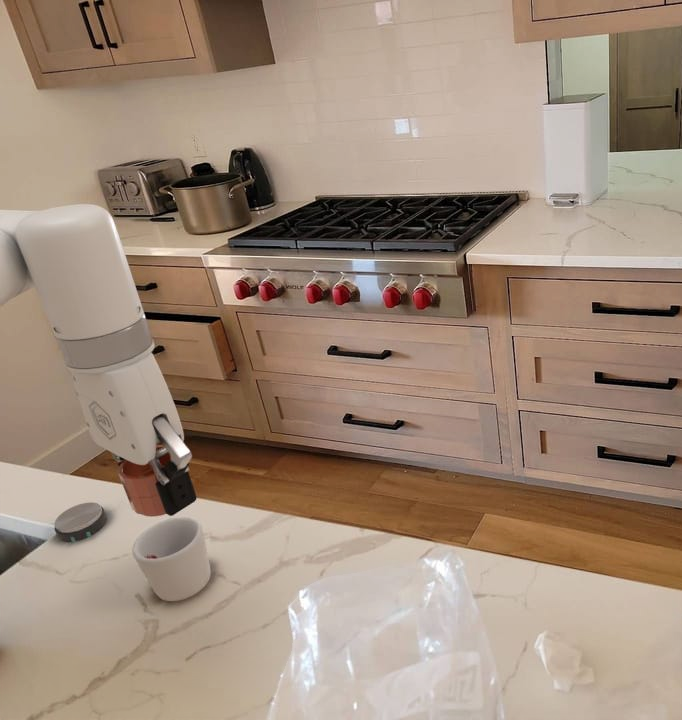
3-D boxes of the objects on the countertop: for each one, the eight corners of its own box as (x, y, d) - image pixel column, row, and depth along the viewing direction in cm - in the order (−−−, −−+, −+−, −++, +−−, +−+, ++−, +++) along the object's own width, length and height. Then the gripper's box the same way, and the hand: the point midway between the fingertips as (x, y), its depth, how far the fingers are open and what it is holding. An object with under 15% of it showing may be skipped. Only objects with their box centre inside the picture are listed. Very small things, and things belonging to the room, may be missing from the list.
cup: (152, 563, 90) (133, 516, 87) (214, 543, 93) (198, 496, 89) (151, 620, 81) (130, 570, 78) (220, 596, 84) (203, 546, 80)
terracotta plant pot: (133, 526, 68) (117, 486, 65) (133, 494, 73) (118, 455, 70) (196, 506, 70) (183, 466, 67) (192, 476, 75) (179, 438, 72)
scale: (58, 552, 94) (50, 536, 93) (61, 526, 99) (54, 511, 98) (108, 536, 96) (101, 520, 95) (109, 511, 102) (103, 496, 100)
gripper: (22, 340, 65) (86, 492, 73) (117, 378, 56) (178, 547, 64) (98, 312, 70) (150, 456, 78) (197, 342, 61) (244, 502, 69)
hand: (162, 495), depth 71 cm, fingers closed on terracotta plant pot, 6 cm apart
